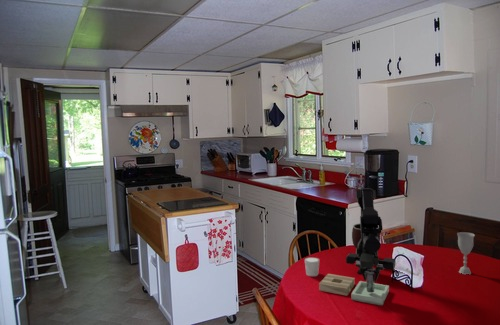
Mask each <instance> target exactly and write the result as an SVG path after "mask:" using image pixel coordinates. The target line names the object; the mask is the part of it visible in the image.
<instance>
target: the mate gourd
mask: <svg viewBox="0 0 500 325" xmlns="http://www.w3.org/2000/svg"><path fill="white" fill-rule="evenodd" d="M374 229H379V225H378V228H374ZM360 239H361V226H360V223H355V224H353V225H352V231H351V241H352V244H353V247H354V248H355V249H356V248H358V242H359V241H360ZM378 239H379V241H380V242H381V233H378Z"/></svg>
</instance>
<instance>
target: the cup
mask: <svg viewBox="0 0 500 325" xmlns="http://www.w3.org/2000/svg"><path fill="white" fill-rule="evenodd" d="M304 266H305V274H306V276H308V277H317V276H319V269H320V258H318V257H313V256H311V257H306V258H304Z"/></svg>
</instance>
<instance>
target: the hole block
mask: <svg viewBox="0 0 500 325" xmlns="http://www.w3.org/2000/svg"><path fill="white" fill-rule="evenodd" d="M355 279H356V278H355V277H350V276H344V275H339V274H332V273H327V274H326V275H325V276H324V278H323V279H322V280H321V281H320V282H319V283H318V290H319V292H326V293H330V294H331V293H332V294H336V295H337V294H338V295H342V296H349V294H350V292H351V291H352V289H353V288H354V286H355V285H356V284H355V283H356V282H355Z"/></svg>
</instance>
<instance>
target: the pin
mask: <svg viewBox="0 0 500 325" xmlns="http://www.w3.org/2000/svg"><path fill="white" fill-rule="evenodd" d="M375 272H376V270H375V268H374V267H373V268H371V269H370V268H365V273H367V275H366V282H367V292H370V293H372V292H374V283H375Z"/></svg>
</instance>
